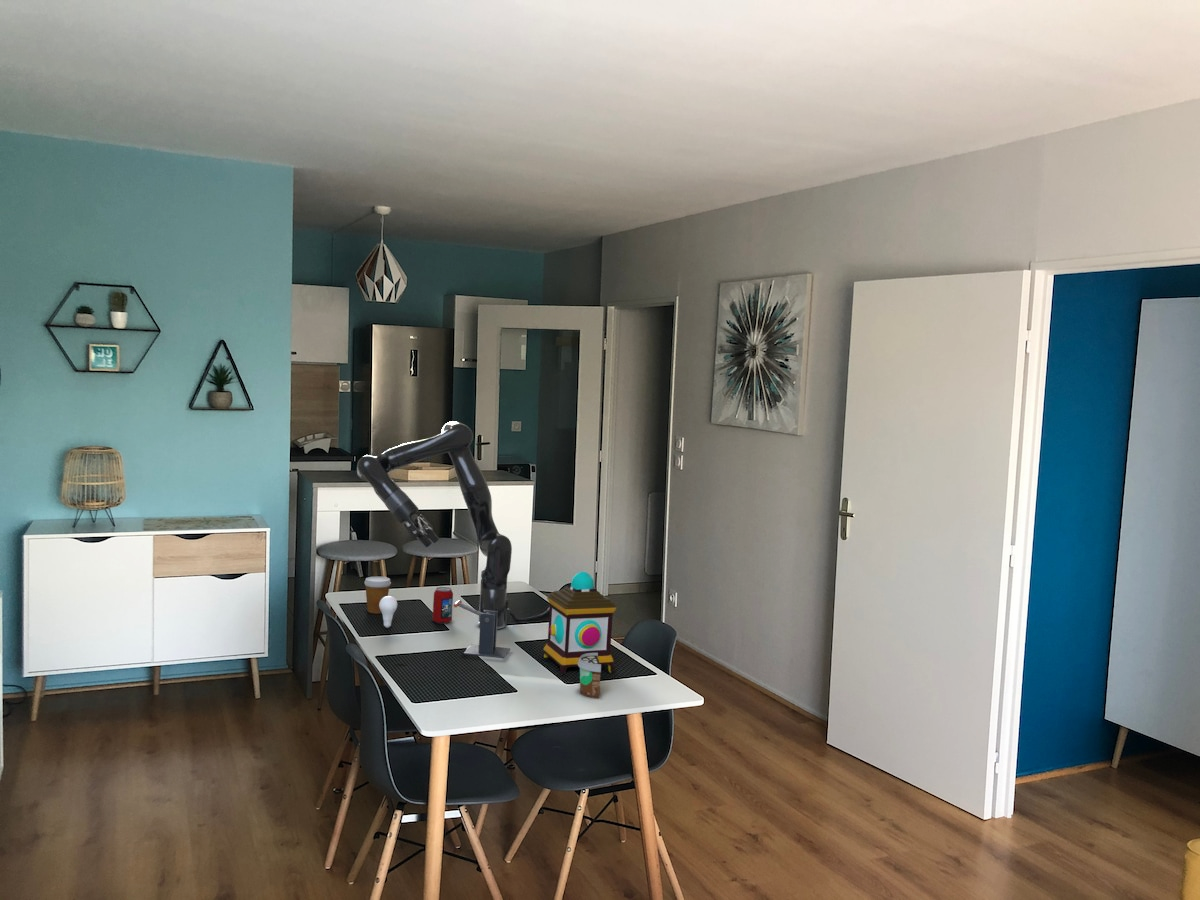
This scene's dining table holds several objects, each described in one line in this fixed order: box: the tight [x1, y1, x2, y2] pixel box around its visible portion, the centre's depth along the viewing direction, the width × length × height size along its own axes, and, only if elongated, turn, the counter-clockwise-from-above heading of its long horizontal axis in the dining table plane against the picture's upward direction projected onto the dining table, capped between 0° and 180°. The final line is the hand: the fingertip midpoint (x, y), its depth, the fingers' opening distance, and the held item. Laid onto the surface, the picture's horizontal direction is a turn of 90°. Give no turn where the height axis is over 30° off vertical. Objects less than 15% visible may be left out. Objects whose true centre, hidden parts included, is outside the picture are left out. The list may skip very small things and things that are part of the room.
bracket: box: [462, 610, 511, 659], centre depth 298 cm, size 13×10×14 cm
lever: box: [453, 599, 490, 617], centre depth 298 cm, size 13×6×2 cm, turn 84°
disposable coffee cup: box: [363, 576, 392, 614], centre depth 343 cm, size 10×10×12 cm
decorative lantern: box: [542, 570, 617, 674], centre depth 292 cm, size 20×20×30 cm
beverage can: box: [432, 586, 454, 624], centre depth 334 cm, size 7×7×12 cm
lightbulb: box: [379, 595, 398, 629], centre depth 322 cm, size 6×6×11 cm
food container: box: [577, 653, 602, 699], centre depth 269 cm, size 12×6×10 cm, turn 5°
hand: (433, 543), depth 307 cm, fingers open, 8 cm apart
